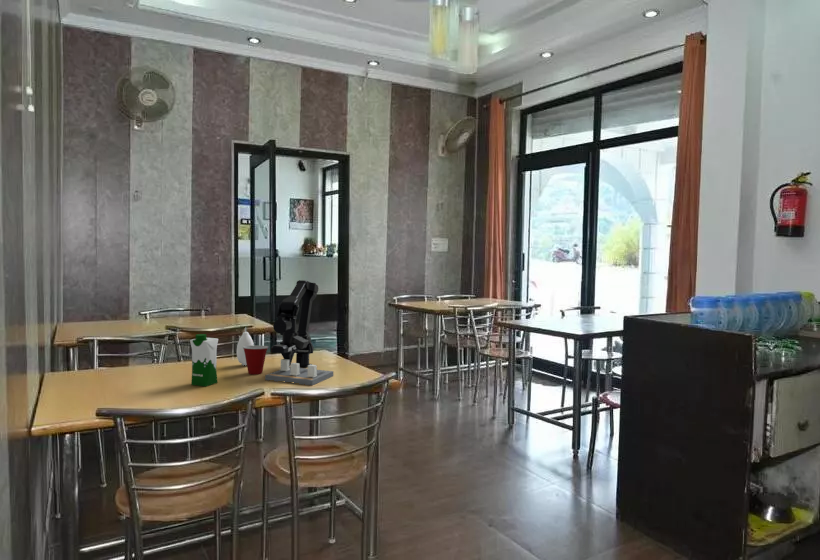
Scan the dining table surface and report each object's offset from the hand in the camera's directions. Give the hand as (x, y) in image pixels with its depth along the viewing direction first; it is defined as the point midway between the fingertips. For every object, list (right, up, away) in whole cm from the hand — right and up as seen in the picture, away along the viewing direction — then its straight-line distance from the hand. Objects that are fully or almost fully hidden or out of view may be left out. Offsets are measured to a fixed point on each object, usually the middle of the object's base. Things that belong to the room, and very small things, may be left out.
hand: (288, 365), depth 243 cm
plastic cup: (-15, -4, +1) cm, 15 cm away
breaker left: (+12, -2, -13) cm, 18 cm away
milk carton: (-29, -4, -19) cm, 35 cm away
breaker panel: (+6, -4, -6) cm, 10 cm away
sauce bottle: (-23, -2, +16) cm, 28 cm away
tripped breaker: (-1, -1, -3) cm, 3 cm away
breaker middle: (+5, -2, -10) cm, 11 cm away
